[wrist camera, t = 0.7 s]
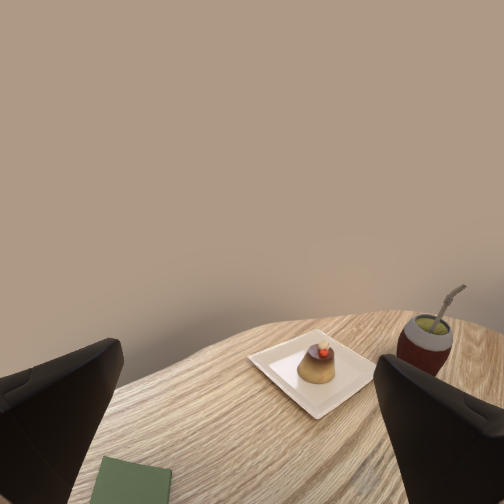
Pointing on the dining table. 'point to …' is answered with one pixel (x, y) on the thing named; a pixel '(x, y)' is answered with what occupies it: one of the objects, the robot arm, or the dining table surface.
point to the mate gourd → (427, 339)
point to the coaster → (130, 483)
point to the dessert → (315, 371)
